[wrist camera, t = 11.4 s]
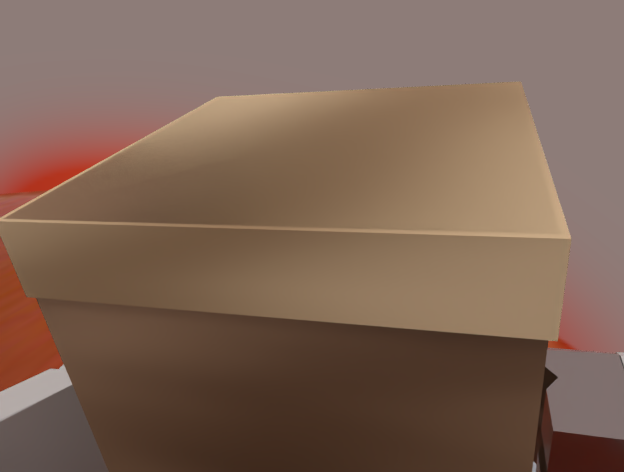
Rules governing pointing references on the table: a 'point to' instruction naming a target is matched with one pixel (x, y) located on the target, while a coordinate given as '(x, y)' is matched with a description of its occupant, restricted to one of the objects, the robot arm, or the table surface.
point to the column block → (309, 284)
